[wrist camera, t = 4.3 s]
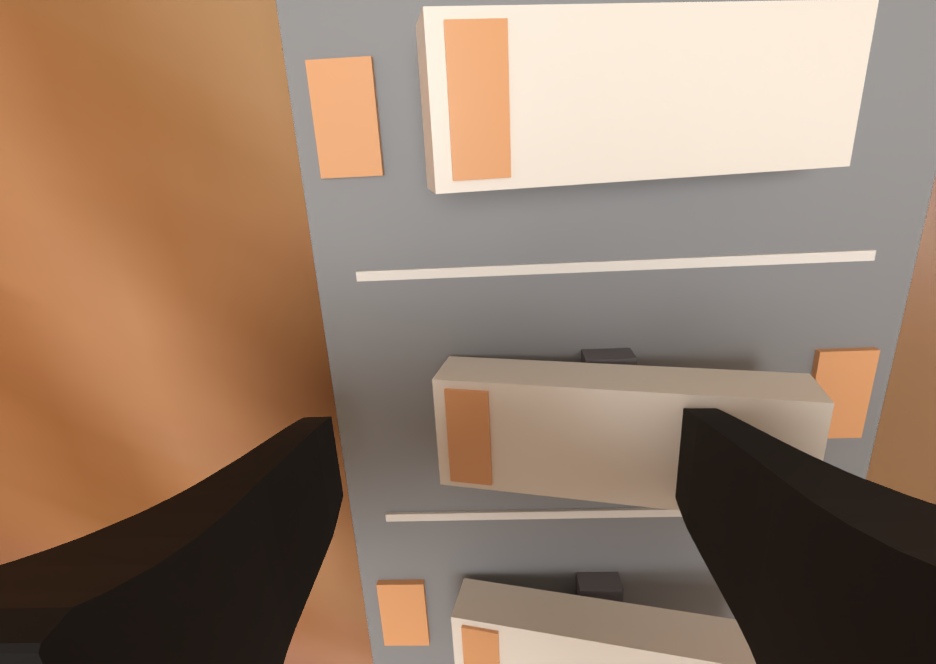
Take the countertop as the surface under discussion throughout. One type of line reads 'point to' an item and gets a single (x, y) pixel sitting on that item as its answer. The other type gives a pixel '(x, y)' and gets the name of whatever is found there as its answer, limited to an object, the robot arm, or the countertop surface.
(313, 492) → the robot arm
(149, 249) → the countertop surface
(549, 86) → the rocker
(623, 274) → the panel
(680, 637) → the rocker
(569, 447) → the rocker
